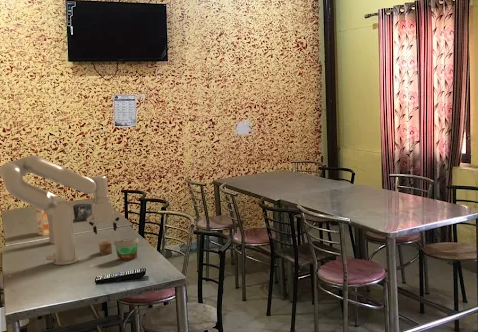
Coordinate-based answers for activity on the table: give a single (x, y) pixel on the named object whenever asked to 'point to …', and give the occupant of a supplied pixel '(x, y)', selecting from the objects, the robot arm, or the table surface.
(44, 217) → the coffeecake box
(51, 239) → the candle
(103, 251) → the walnut block
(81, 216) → the box
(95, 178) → the robot arm
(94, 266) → the table surface
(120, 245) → the food container
